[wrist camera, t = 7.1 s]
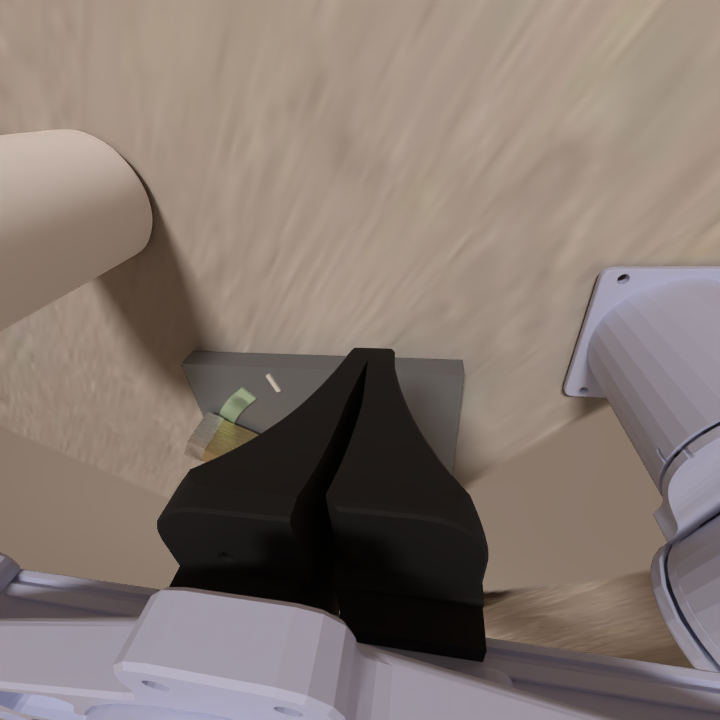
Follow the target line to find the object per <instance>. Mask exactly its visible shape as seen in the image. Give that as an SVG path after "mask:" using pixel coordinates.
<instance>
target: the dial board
mask: <svg viewBox="0 0 720 720" xmlns="http://www.w3.org/2000/svg"><path fill="white" fill-rule="evenodd" d="M346 357H347V356H323V355H292V354H262V353H231V352H201V351H193V352H192V353H191V354H190V355H189V356H188V357H187V358H186V359H185V360H184V362H183V363H182V364H181V365H182V367H183V369H184V372H185V374H186V377H187V379H188V381H189V384H190V386H191V388H192V391H193V393H194V396H195V398H196V400H197V403H198V405H199V407H200V410H201V412H202V414H203V417H205V415H206V414H207V412H211V413H213V414H215V415H218V416H220V417H222V418H224V420H226V421H228V422H230V423H233V424H235V425H237V426H240V427H242V428H245V429H247V430H249V431H252V432H254V433H256V434H259V435H260V434H261V433H263V432H264V431H266V430H267V429H269V428H270V427H272V426H273V425H275V424H276V423H278V422H279V421H281V420H282V419H284V418H285V417H286V416H288V415H289V414H290V413H291V412H293V411H294V410H295V409H296V408H297V407H299V406H300V405H301V404H302V403H303V402H304V401H305V400H307V399H308V398H309V397H310V396H311V395H312V394H313V393H314V392H315V391H316V390H317V389H318V388H319V387H320V386H321V385H322V384H323V383H324V382H325V381H326V380H327V379H328V377H329V376H330V375H331V374H332V373H333V372H334V371H335V370H336V369H337V367H338V366H339V365H340V364H341V363H342V361H343V360H344V359H345V358H346ZM395 370H396V375H397V378H398V382H399V385H400V388H401V391H402V394H403V396H404V399H405V401H406V404H407V406H408V408H409V410H410V412H411V415H412V417H413V419H414V420H415V422H416V424H417V426H418V428H419V430H420V431H421V433H422V435H423V436H424V438H425V440H426V441H427V443H428V444H429V445H430V447H431V448H432V450H433V451H434V453H435V454H436V455H437V457H438V458H439V460H440V461H441V462H442V464H443V465H444V466H445V467H446V469H447V470H448V471H449V472H450V474H451V475H452V476H453V468H454V459H455V451H456V442H457V434H458V425H459V417H460V408H461V400H462V391H463V382H464V368H463V360H444V359H414V358H395Z"/></svg>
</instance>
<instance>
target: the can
mask: <svg viewBox="0 0 720 720" xmlns="http://www.w3.org/2000/svg"><path fill="white" fill-rule="evenodd" d="M152 223H153V218H152V210H151V206H150V202H149V199H148V196H147V193H146V191H145V189H144V186H143V185H142V183H141V181H140V179H139V178H138V176H137V175H136V173H135V172H134V170H133V169H132V168H131V167H130V165H129V164H128V163H127V162H126V161H125V160H124V159H123V158H122V157H121V156H120V155H119V154H118V153H117V152H116V151H115V150H113V149H112V148H111V147H110V146H108V145H107V144H106V143H104V142H103V141H101V140H99V139H97V138H96V137H94V136H91V135H89V134H87V133H84V132H81V131H76V130H68V129H62V130H49V131H38V132H29V133H19V134H10V135H0V331H1V330H3V329H5V328H7V327H9V326H10V325H12V324H14V323H16V322H18V321H19V320H21V319H23V318H25V317H26V316H28V315H30V314H32V313H34V312H35V311H37V310H39V309H41V308H43V307H44V306H46V305H48V304H50V303H52V302H53V301H55V300H57V299H59V298H60V297H62V296H64V295H66V294H68V293H69V292H71V291H73V290H75V289H76V288H78V287H80V286H82V285H83V284H85V283H87V282H89V281H91V280H92V279H94V278H96V277H98V276H99V275H101V274H103V273H105V272H106V271H108V270H110V269H112V268H114V267H115V266H117V265H119V264H121V263H122V262H124V261H126V260H127V259H129V258H131V257H133V256H134V255H136V254H138V253H139V252H140V251H142V250H143V249H144V248H145V246H146V245H147V243H148V241H149V239H150V235H151V231H152Z"/></svg>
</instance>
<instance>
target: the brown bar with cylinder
mask: <svg viewBox="0 0 720 720" xmlns="http://www.w3.org/2000/svg"><path fill="white" fill-rule="evenodd" d="M258 435H259V434H256V433H254V432H252V431H249V430H247V429H245V428H242V427H240V426H237V425H235V424H233V423H230V422H228V421H226V420H224V418H222V417H220V416H218V415H215V414H213V413H211V412H207V414H206V415H205V417H204V418H203V420H202V421H201V422H200V424H199V425H198V427H197V428H196V430H195V431H194V433H193V434H192V435H191V437H190V438H189V440H188V441H187V444H186V448H185V452H184V455H186V456H188V457H191V458H193V459H196V460H198V461H204V462H208V461H210V460H213V459H215V458H217V457H219V456H221V455H223V454H225V453H227V452H229V451H231V450H233V449H235V448H237V447H239V446H241V445H243V444H244V443H246V442H248V441H250V440H251V439H253V438H255V437H256V436H258Z"/></svg>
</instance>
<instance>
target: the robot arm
mask: <svg viewBox="0 0 720 720" xmlns="http://www.w3.org/2000/svg"><path fill="white" fill-rule="evenodd" d="M623 274H626V277H625V278H624V279H623V280H621V281H617V279H618V277H619V276H621V275H623ZM583 387H586V388H585V389H583V390H579V389H580V388H583ZM563 389H564V391H565V393H566V394H567V395H568V396H578V397H600V398H607V400H608V402H609V403H610V405H611V407H612V409H613V410H614V412H615V414H616V416H617V418H618V419H619V421H620V423H621V425H622V426H623V428H624V430H625V432H626V433H627V435H628V437H629V439H630V441H631V442H632V444H633V446H634V448H635V449H636V451H637V453H638V455H639V456H640V458H641V460H642V462H643V464H644V465H645V467H646V469H647V471H648V472H649V474H650V476H651V478H652V480H653V481H654V483H655V485H656V487H657V488H658V490H659V492H660V494H661V495H662V497H663V502H662V505H661V507H660V508H659V509H658V510H657V511H656V512H655V513H654V514H653V515H654V517H655V519H656V521H657V523H658V525H659V527H660V529H661V531H662V533H663V534H664V536H665V538H666V540H667V542H668V543H667V544H665V545H664V546H663V547H661V548H659V550H658V551H657V553H656V554H655V555H654V557H653V560H652V564H651V583H652V589H653V593H654V596H655V599H656V602H657V605H658V608H659V610H660V612H661V614H662V617H663V619H664V621H665V623H666V625H667V627H668V629H669V630H670V632H671V634H672V636H673V637H674V639H675V641H676V643H677V644H678V646H679V647H680V648H681V650H682V651H683V653H684V654H685V656H686V657H687V659H688V660H689V661H690V663H691V664H692V665H693V667H694V668H695V669H693V668H687V667H680V666H673V665H666V664H660V663H653V662H646V661H640V660H633V659H626V658H619V657H613V656H606V655H599V654H592V653H586V652H579V651H572V650H565V649H559V648H552V647H545V646H538V645H532V644H525V643H518V642H511V641H505V640H498V639H491V638H485V628H484V617H483V606H484V595H483V585H482V582H483V578H484V574H485V570H486V566H487V562H488V546H487V542H486V538H485V534H484V530H483V527H482V524H481V521H480V519H479V516H478V513H477V511H476V509H475V506H474V504H473V501H472V499H471V497H470V495H469V494H468V493H467V492H466V491H465V489H464V488H463V487H462V486H461V485H460V484H459V483H458V482H457V481H456V479H455V478H454V477H453V476H452V475H451V474H450V472H449V471H448V470H447V469H446V467H445V466H444V465H443V464H442V462H441V461H440V460H439V458H438V457H437V455H436V454H435V453H434V451H433V450H432V448H431V447H430V445H429V444H428V443H427V441H426V440H425V438H424V436H423V435H422V433H421V431H420V430H419V428H418V426H417V424H416V422H415V420H414V419H413V417H412V415H411V412H410V410H409V408H408V406H407V404H406V401H405V399H404V396H403V394H402V391H401V388H400V385H399V382H398V378H397V375H396V370H395V352H394V351H393V350H392V349H378V348H354V349H353V350H351V352H350V353H349V354H348V355H347V357H346V358H345V359H344V360H343V361H342V363H341V364H340V365H339V366H338V367H337V369H336V370H335V371H334V372H333V373H332V374H331V375H330V376H329V377H328V379H327V380H326V381H325V382H324V383H323V384H322V385H321V386H320V387H319V388H318V389H317V390H316V391H315V392H314V393H313V394H312V395H311V396H310V397H309V398H308V399H307V400H305V401H304V402H303V403H302V404H301V405H300V406H299V407H297V408H296V409H295V410H294V411H293V412H291V413H290V414H289V415H288V416H286V417H285V418H284V419H282V420H281V421H279V422H278V423H276V424H275V425H273V426H272V427H270V428H269V429H267V430H266V431H264V432H263V433H261V434H260V435H258V436H256V437H255V438H253V439H251V440H250V441H248V442H246V443H244V444H243V445H241V446H239V447H237V448H235V449H233V450H231V451H229V452H227V453H225V454H223V455H221V456H219V457H217V458H215V459H213V460H210V461H208V462H206V463H204V464H202V465H200V466H197V467H195V468H193V469H190V471H189V472H188V473H187V475H186V476H185V477H184V479H183V480H182V482H181V483H180V485H179V486H178V488H177V489H176V491H175V493H174V494H173V496H172V498H171V499H170V501H169V503H168V504H167V506H166V507H165V509H164V511H163V512H162V514H161V515H160V517H159V519H158V520H157V529H158V532H159V534H160V536H161V538H162V540H163V542H164V543H165V545H166V546H167V547H168V549H169V550H170V552H171V553H172V555H173V556H174V558H175V559H176V561H177V562H178V563H179V565H180V567H179V569H178V571H177V573H176V575H175V577H174V579H173V581H172V583H171V584H170V586H169V587H167V588H165V589H162V590H161V589H154V588H147V587H140V586H134V585H127V584H120V583H114V582H107V581H100V580H93V579H86V578H80V577H73V576H66V575H60V574H53V573H45V572H40V571H33V570H26V569H20V566H19V565H18V564H17V563H16V562H15V561H14V560H13V559H12V558H10V557H9V556H7V555H5V554H3V553H1V552H0V719H4V720H720V266H643V267H608V268H606V269H604V270H603V271H602V272H600V274H599V276H598V279H597V282H596V285H595V288H594V291H593V294H592V298H591V301H590V304H589V307H588V310H587V313H586V317H585V320H584V323H583V326H582V329H581V332H580V336H579V339H578V342H577V345H576V348H575V351H574V355H573V358H572V361H571V364H570V367H569V370H568V374H567V377H566V380H565V383H564V387H563ZM339 610H340V614H339Z"/></svg>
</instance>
